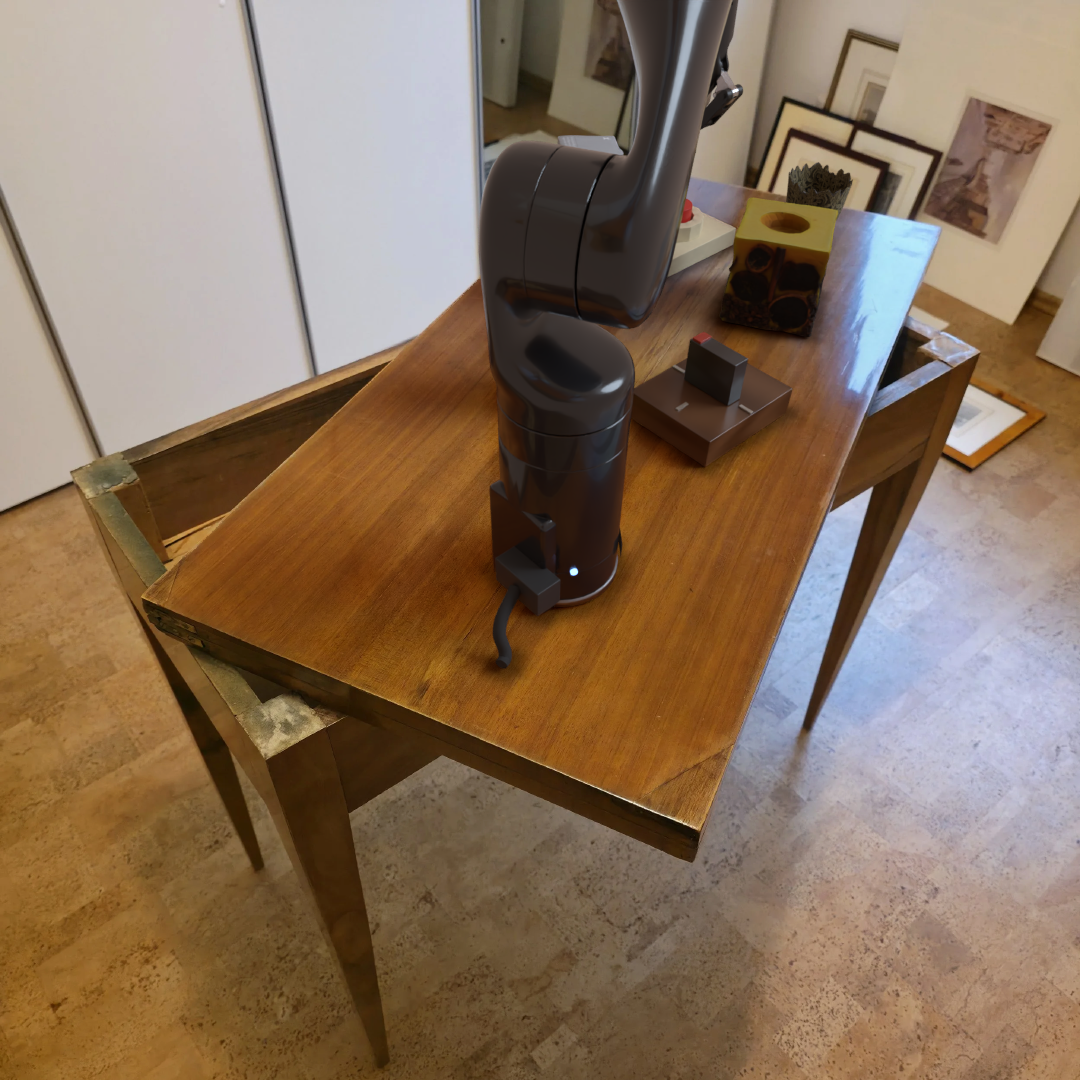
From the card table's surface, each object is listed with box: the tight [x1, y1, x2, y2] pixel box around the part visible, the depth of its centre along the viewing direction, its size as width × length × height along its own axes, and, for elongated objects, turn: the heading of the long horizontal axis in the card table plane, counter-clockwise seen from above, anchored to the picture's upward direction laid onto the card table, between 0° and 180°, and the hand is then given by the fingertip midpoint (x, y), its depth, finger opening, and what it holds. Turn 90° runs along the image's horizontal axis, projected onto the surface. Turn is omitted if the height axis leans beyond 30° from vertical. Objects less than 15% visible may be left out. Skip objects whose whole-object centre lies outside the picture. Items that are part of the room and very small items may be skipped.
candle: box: [718, 196, 838, 338], centre depth 95 cm, size 10×10×10 cm
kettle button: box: [681, 198, 694, 223], centre depth 105 cm, size 4×4×2 cm
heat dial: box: [684, 331, 749, 406], centre depth 81 cm, size 6×2×5 cm, turn 41°
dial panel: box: [631, 357, 793, 468], centre depth 84 cm, size 12×10×3 cm
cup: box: [785, 161, 854, 222], centre depth 106 cm, size 8×7×8 cm
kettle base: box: [667, 205, 737, 278], centre depth 107 cm, size 12×10×4 cm
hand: (681, 159), depth 100 cm, fingers closed
